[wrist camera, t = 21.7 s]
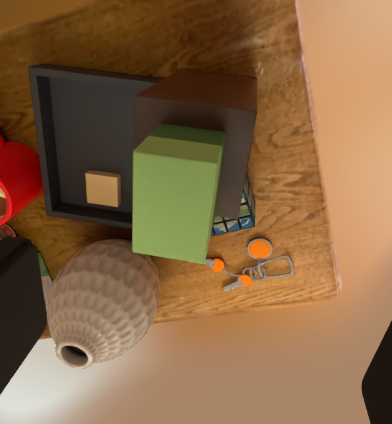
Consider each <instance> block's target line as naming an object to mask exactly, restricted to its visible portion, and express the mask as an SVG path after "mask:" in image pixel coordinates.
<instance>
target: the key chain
mask: <svg viewBox="0 0 392 424" xmlns="http://www.w3.org/2000/svg"><path fill="white" fill-rule="evenodd" d="M247 251H248V254H249V255H250V256H251V257H252V258H254V259H257V260H259V261H258V264H257V266H253V267H246V268H244V270H243V274H233V273H231V272H229V271H227V270H226V269H225V268H224V263H223V261H222V260H220V259H217V258H214V259H213V260H211V259H205V263H204V264H206V265H209V266H210V268H211V270H213V271H216V272H219V271H222V270H224V271H225V272H227V273H228V274H230V275H233V276H238V277H237V278H238V279H237V281H236V282H233V283H231V284H228V285H226V286H224V287H222V289H223V290H224V291H229V290H230V289H231V290H232V288H234V289H236V288H237V286H238V287H241V286H245V287H247V286H250V285H251V284H252V281H253V280H255V281H261V280H264V278H276V277H286V276H291V275H292V274H293V272H294V267H293V263H292V261H291V259H290V258H289V256H287V255H282V256H280V257H277V258H274V259H271V260H268V261H266V260H265V259H266V258H268V257H270V255H271V254H272V251H273V247H272V244H271V243H270V242H269V241H268V240H266V239H264V238H256V239H253V240H252V241H250V242H249V244H248V247H247ZM280 258H287V260H288V261H289V264H290V268H291V272H290V273H287V274H280V275H268V276H266V274H267V273H266V270H265V269H264V268H263V267H261V266H263V265H264V264H265V263H268V262H271V261H274V260H277V259H280ZM260 260H264V261H265V262H261V263H259V262H260ZM255 268H258V272H259V275H260V277H261V278H260V279H256V278H254V277H255V276H256V275H257V271H256V270H255ZM247 269H250V271H249V275H250V276H249V275H246V274H245V270H247ZM261 269H262V270H263V272H264V276H263V275H262V272H261ZM252 270H254V272H255V274H254V275H253V276H252ZM252 279H253V280H252Z"/></svg>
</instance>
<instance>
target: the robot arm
mask: <svg viewBox="0 0 392 424" xmlns="http://www.w3.org/2000/svg"><path fill="white" fill-rule="evenodd" d="M46 325H47V312H46V305H45V298H44V292H43V285H42V278H41V271H40V264H39V257H38V251H37V248H36V246H33V245H32V242H31V241H30V240H29V239H24V238H19V237H13V236H5V237H4V238H2V239H1V240H0V394H1V393H2V391H3V390H4V388H5V387H6V386H7V384H8V383H9V381H10V380H11V378H12V377H13V376H14V374H15V373H16V371H17V370H18V368H19V367H20V365H21V364H22V362H23V361H24V359H25V358H26V357H27V355H28V354H29V352H30V351H31V349H32V348H33V347H34V345H35V344H36V342H37V341H38V339H39V338H40V336H41V335H42V334H43V332H44V330H45V328H46ZM362 394H363V398H364V402H365V405H366V409H367V412H368V416H369V420H370V423H371V424H392V321H391V323H390V325H389V327H388V329H387V331H386V333H385V335H384V337H383V339H382V341H381V343H380V345H379V347H378V349H377V351H376V353H375V355H374V357H373V359H372V362H371V363H370V365H369V367H368V369H367V371H366V374H365V376H364V378H363V380H362Z"/></svg>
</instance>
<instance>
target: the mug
mask: <svg viewBox="0 0 392 424" xmlns="http://www.w3.org/2000/svg"><path fill="white" fill-rule="evenodd" d="M43 193H44V190H43V182H42V174H41V166H40V158H39V155H38V154H37V153H36V152H35V151H34V150H32V149H31V148H29V147H28V146H26V145H24V144H21V143H18V142H5V141H4V139H3V137H2V135H1V134H0V225H3V224H4V223H6V222H7V221H8V220H10V219H11V218H12V217H13V216H15V215H16V214H17V213H19V212H20V211H21V210H22V209H24V208H25V207H26V206H27V205H29V204H30V203H31V202H33V201H34V200H35V199H36V198H38V197H39V196H40V195H41V194H43Z"/></svg>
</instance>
